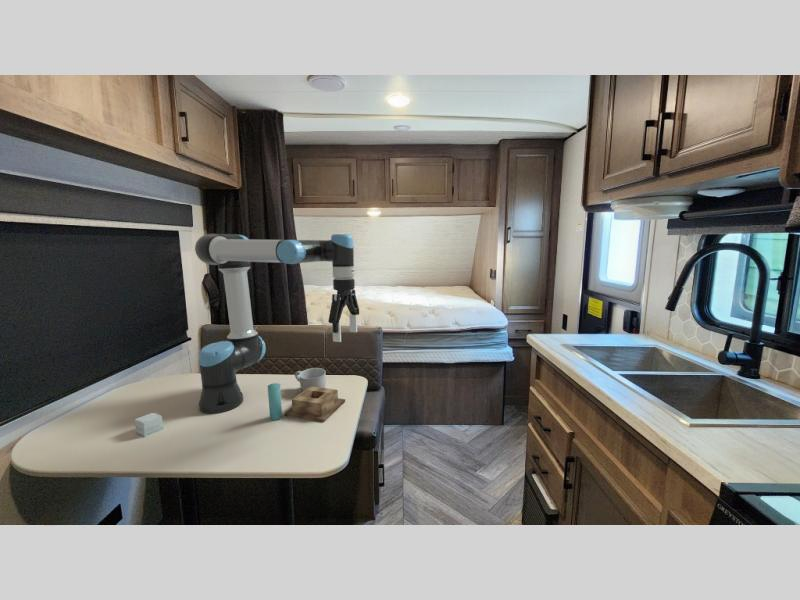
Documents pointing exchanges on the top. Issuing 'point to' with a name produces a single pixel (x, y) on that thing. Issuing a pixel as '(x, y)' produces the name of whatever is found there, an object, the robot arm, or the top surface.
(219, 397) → the robot arm
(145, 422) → the small box
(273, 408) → the peg
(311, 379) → the teacup
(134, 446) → the top surface
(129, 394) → the top surface
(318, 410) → the socket
